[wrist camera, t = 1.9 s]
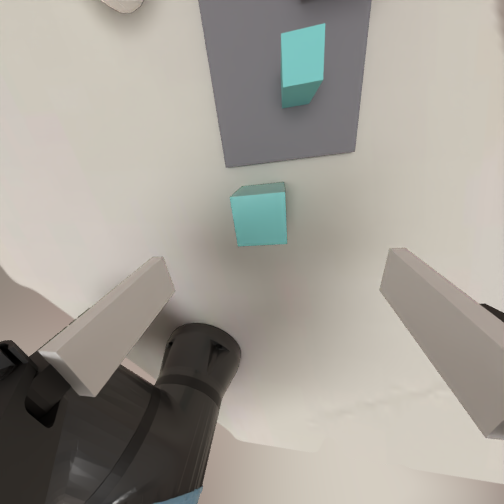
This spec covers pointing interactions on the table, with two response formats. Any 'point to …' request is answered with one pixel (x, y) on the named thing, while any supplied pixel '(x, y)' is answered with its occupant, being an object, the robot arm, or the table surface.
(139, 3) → the white cup
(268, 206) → the teal rectangular prism
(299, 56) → the stand
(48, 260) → the table surface
